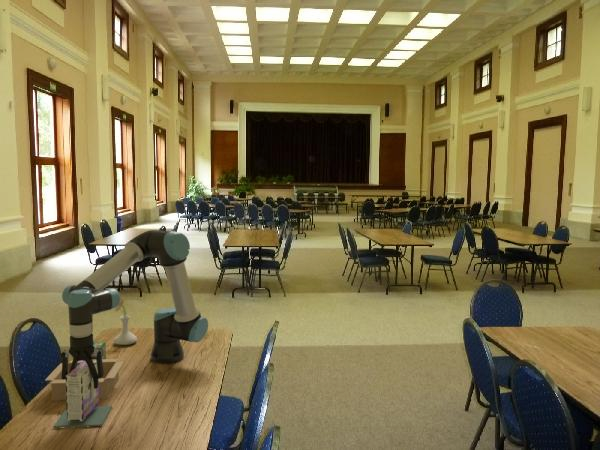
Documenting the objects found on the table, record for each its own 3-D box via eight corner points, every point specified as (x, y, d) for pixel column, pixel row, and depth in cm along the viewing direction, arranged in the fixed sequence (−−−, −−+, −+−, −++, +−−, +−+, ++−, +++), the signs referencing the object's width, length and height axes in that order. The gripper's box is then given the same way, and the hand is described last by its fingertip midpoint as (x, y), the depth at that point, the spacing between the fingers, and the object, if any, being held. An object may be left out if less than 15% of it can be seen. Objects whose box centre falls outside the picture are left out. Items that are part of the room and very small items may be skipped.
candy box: (84, 402, 188) (83, 359, 186) (100, 403, 188) (98, 360, 186) (66, 421, 174) (64, 375, 172) (83, 421, 174) (81, 375, 172)
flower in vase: (116, 339, 263) (115, 292, 261) (139, 339, 265) (138, 292, 262) (110, 348, 251) (109, 299, 248) (134, 347, 252) (132, 298, 249)
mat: (112, 407, 189) (112, 405, 189) (101, 426, 175) (101, 424, 175) (67, 409, 187) (67, 407, 187) (53, 428, 173) (53, 426, 173)
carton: (126, 376, 217) (125, 358, 216) (112, 401, 194) (111, 381, 193) (64, 378, 214) (63, 360, 213) (42, 403, 191) (41, 383, 190)
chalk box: (101, 374, 219) (100, 341, 218) (79, 374, 218) (78, 341, 217) (107, 366, 228) (106, 334, 227) (85, 366, 227) (85, 334, 226)
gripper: (112, 330, 182) (114, 391, 185) (56, 331, 180) (59, 393, 183) (107, 337, 175) (108, 400, 178) (48, 338, 173) (51, 403, 175)
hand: (83, 397), depth 180 cm, fingers closed on candy box, 6 cm apart
